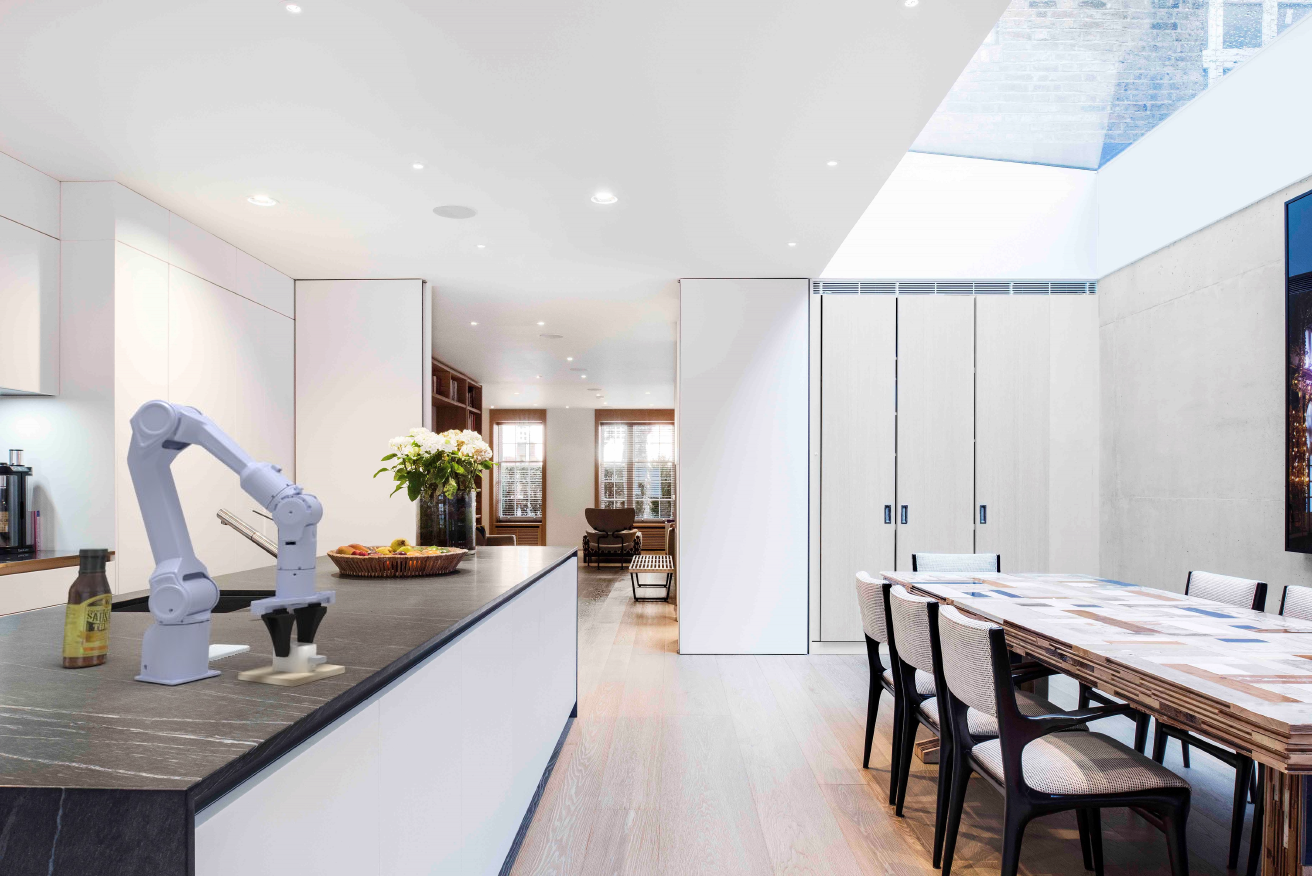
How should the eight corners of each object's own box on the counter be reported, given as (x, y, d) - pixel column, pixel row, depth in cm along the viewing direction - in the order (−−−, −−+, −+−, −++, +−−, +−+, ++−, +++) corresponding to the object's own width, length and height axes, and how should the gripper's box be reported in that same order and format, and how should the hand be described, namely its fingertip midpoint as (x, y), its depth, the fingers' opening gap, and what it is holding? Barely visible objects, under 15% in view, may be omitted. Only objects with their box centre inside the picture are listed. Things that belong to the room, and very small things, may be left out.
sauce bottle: (88, 669, 124) (95, 549, 125) (51, 669, 124) (59, 549, 125) (117, 660, 130) (123, 547, 132) (82, 660, 130) (89, 547, 132)
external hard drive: (249, 654, 138) (196, 668, 126) (212, 652, 140) (155, 667, 128) (250, 645, 138) (196, 659, 126) (212, 644, 140) (156, 657, 128)
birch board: (238, 679, 116) (238, 672, 116) (291, 666, 125) (292, 660, 125) (292, 686, 111) (293, 680, 112) (344, 672, 121) (345, 666, 121)
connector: (268, 669, 119) (269, 644, 119) (284, 665, 121) (285, 640, 122) (313, 675, 115) (314, 648, 115) (329, 671, 117) (330, 645, 118)
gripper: (275, 573, 112) (271, 665, 110) (349, 565, 125) (347, 647, 124) (242, 572, 114) (238, 661, 113) (319, 564, 128) (316, 644, 127)
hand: (293, 654), depth 119 cm, fingers open, 4 cm apart
